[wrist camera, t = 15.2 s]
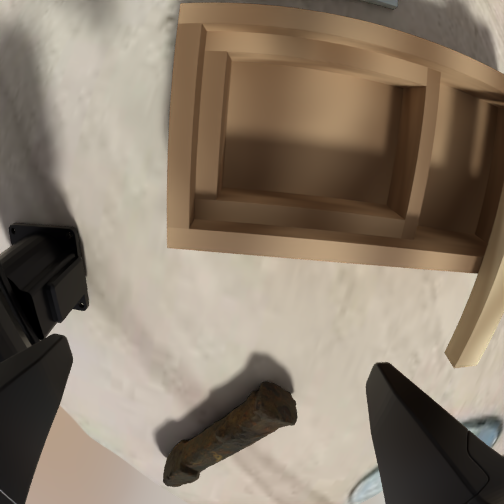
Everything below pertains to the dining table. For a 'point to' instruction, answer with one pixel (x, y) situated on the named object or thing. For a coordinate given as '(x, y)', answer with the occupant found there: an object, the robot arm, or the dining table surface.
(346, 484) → the dining table surface
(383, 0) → the lid
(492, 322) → the wooden bar
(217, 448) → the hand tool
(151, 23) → the dining table surface
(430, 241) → the toolbox
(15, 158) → the dining table surface
